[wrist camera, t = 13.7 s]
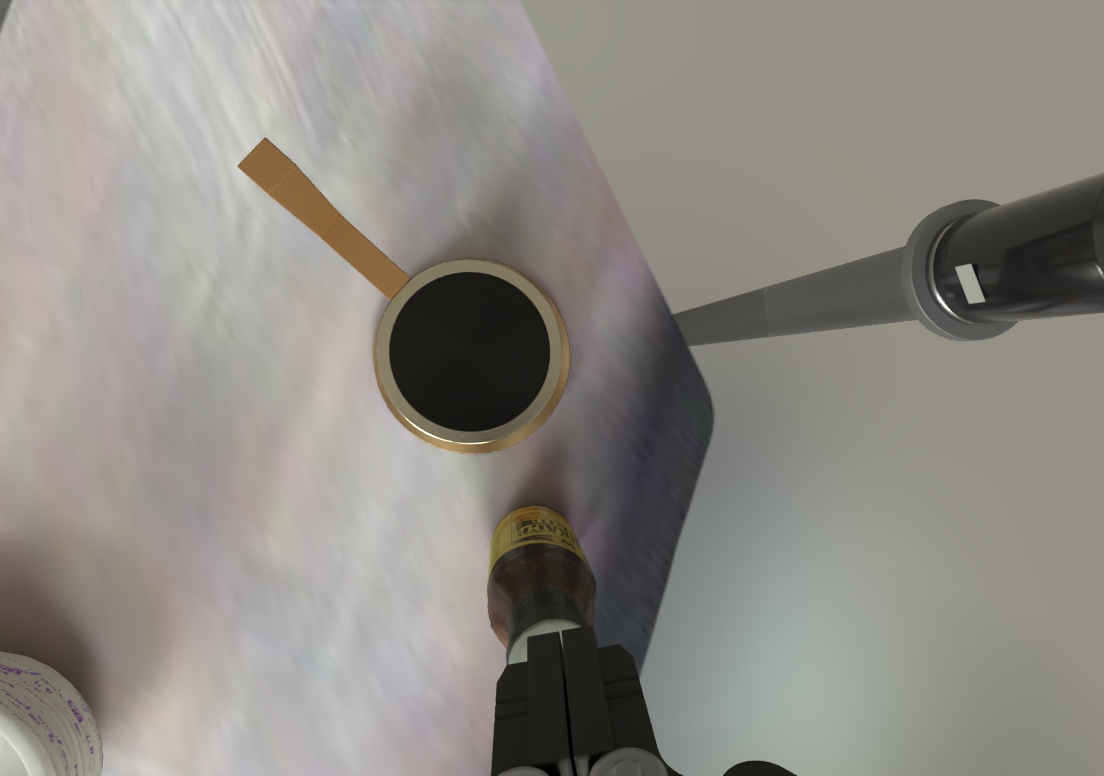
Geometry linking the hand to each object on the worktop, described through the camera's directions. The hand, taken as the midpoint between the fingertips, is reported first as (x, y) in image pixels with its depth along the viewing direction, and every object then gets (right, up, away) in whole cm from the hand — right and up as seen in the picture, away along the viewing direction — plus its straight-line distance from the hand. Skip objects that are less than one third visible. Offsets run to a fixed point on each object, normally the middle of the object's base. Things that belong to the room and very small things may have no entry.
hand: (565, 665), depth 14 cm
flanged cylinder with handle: (-8, +10, +30) cm, 33 cm away
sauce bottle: (-2, -5, +32) cm, 33 cm away
